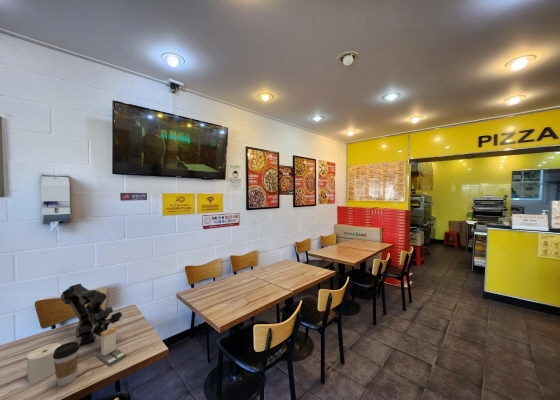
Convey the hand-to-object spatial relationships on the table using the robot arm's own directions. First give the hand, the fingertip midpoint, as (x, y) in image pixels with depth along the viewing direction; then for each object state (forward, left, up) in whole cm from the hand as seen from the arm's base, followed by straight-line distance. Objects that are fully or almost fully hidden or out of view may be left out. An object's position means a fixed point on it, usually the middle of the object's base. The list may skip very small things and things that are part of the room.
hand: (105, 338), depth 112 cm
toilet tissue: (-1, -22, -8) cm, 23 cm away
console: (+4, +2, -8) cm, 9 cm away
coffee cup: (+11, -13, -8) cm, 19 cm away
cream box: (+3, +1, -6) cm, 6 cm away
